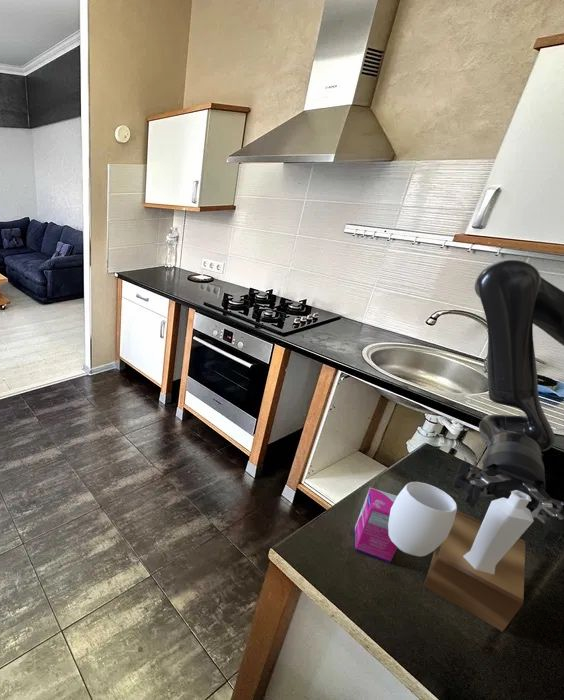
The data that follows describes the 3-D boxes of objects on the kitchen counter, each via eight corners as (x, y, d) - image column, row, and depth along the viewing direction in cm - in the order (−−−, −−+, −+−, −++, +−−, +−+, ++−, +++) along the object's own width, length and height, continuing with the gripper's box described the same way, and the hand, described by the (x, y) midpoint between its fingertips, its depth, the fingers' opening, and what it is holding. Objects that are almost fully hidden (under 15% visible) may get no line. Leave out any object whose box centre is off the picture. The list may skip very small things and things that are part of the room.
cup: (360, 559, 70) (397, 473, 62) (408, 576, 67) (453, 488, 59) (365, 593, 64) (406, 503, 56) (417, 613, 61) (469, 522, 53)
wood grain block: (438, 533, 76) (451, 508, 73) (507, 567, 69) (525, 541, 66) (423, 586, 66) (438, 558, 63) (502, 632, 59) (523, 604, 56)
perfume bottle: (486, 580, 59) (532, 510, 53) (456, 556, 63) (494, 488, 57) (506, 572, 61) (552, 504, 55) (475, 549, 64) (514, 482, 58)
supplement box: (352, 528, 77) (369, 485, 72) (387, 541, 74) (407, 498, 69) (353, 550, 72) (371, 506, 67) (390, 565, 69) (412, 520, 65)
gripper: (469, 435, 72) (459, 476, 61) (583, 473, 62) (594, 529, 52) (453, 465, 75) (442, 510, 64) (560, 506, 65) (567, 566, 55)
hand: (510, 518), depth 58 cm, fingers open, 8 cm apart
